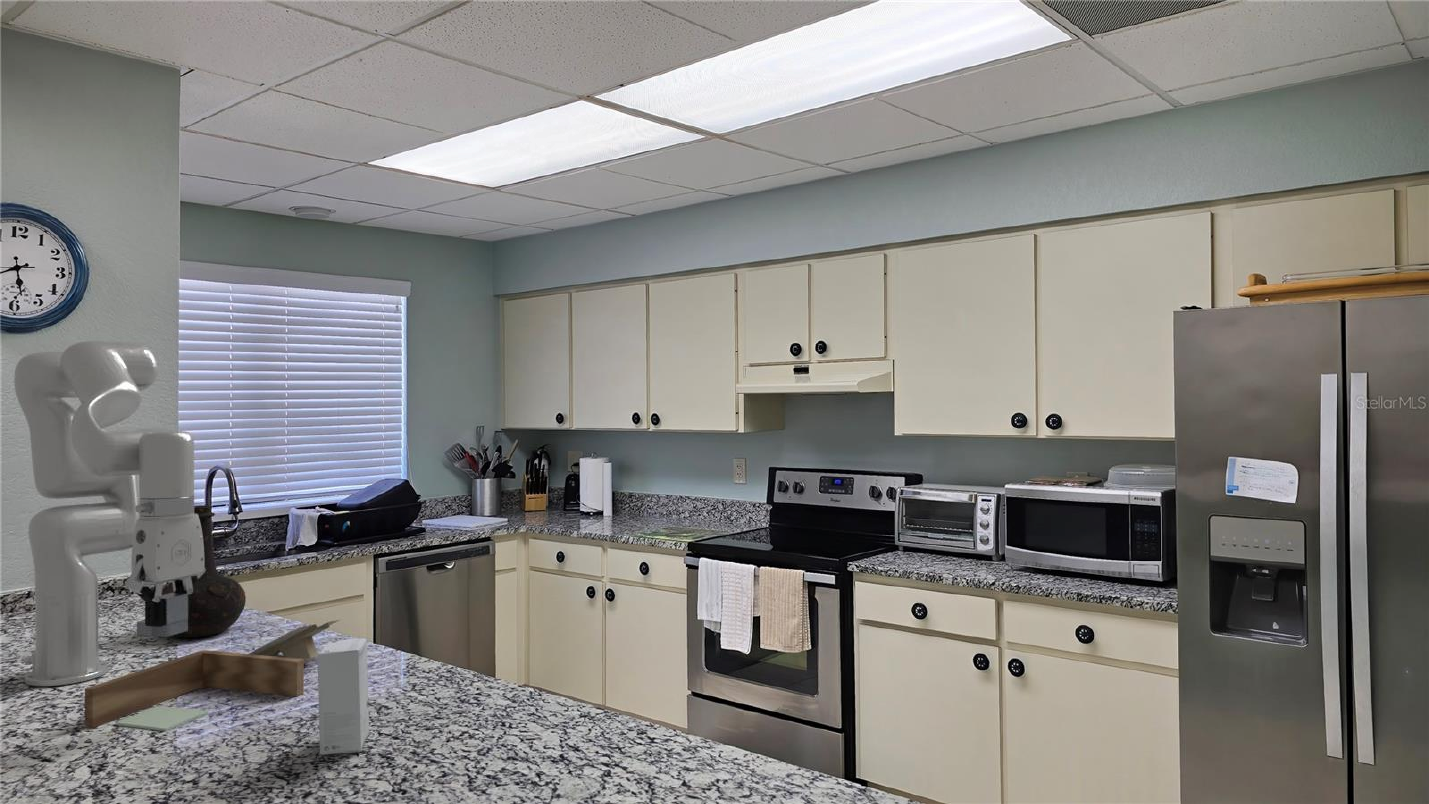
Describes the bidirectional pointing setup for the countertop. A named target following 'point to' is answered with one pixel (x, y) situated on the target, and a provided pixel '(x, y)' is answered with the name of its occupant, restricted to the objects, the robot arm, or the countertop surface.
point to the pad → (161, 718)
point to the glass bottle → (211, 591)
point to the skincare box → (343, 696)
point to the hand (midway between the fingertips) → (167, 621)
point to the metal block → (169, 617)
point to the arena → (192, 682)
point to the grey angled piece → (295, 643)
